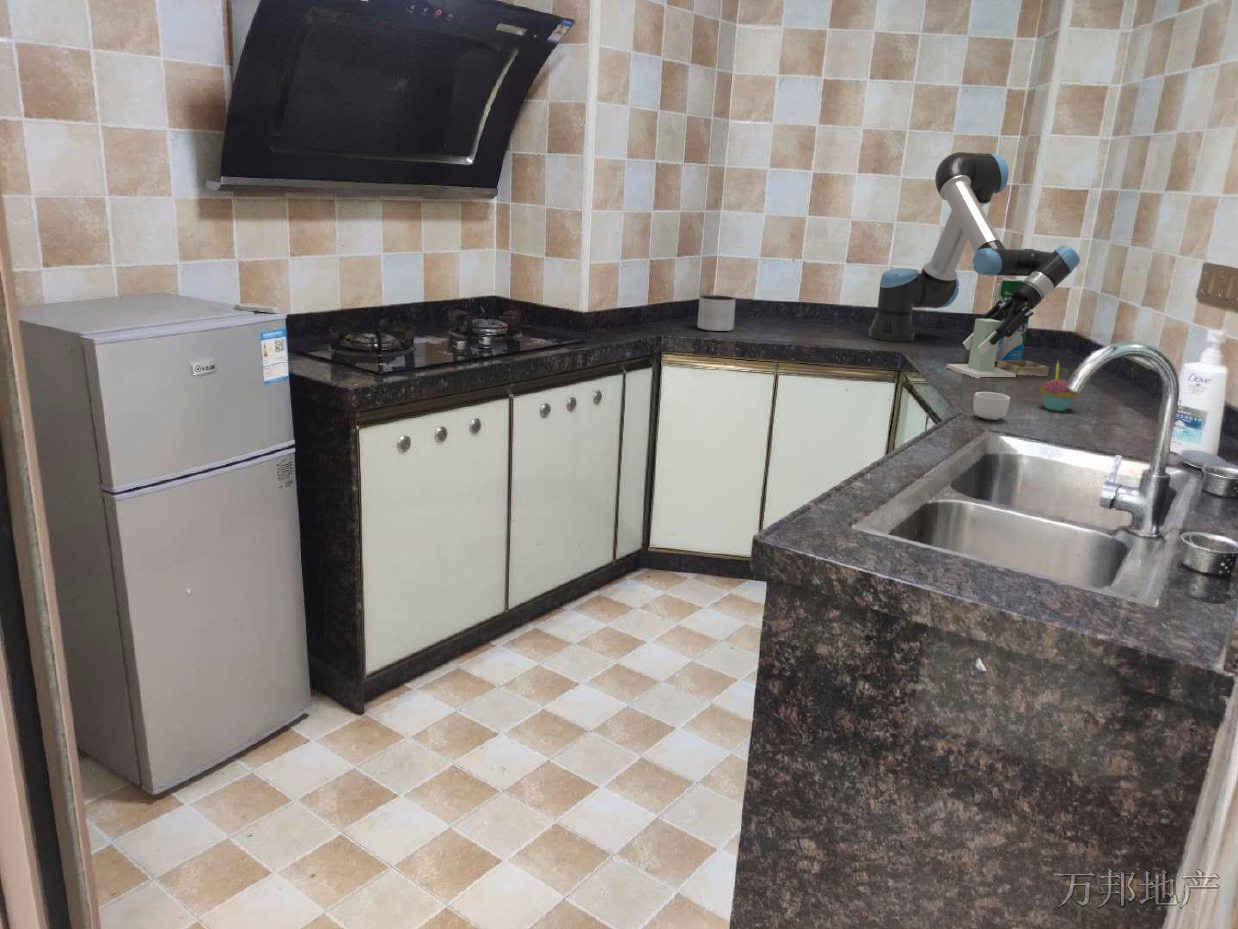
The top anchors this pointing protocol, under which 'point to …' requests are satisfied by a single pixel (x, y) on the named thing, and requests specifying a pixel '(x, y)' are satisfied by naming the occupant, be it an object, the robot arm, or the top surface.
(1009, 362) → the holder
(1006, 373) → the trivet
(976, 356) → the post
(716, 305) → the planter
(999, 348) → the milk carton
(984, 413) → the teacup
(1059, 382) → the cupcake
